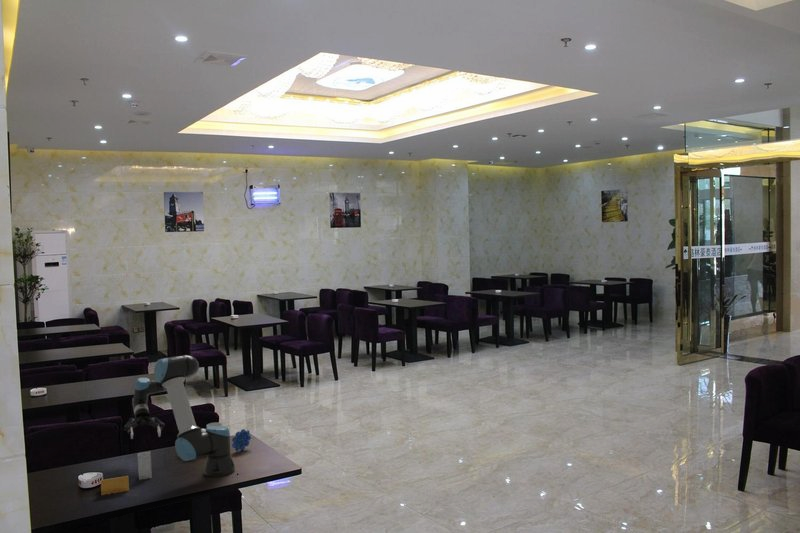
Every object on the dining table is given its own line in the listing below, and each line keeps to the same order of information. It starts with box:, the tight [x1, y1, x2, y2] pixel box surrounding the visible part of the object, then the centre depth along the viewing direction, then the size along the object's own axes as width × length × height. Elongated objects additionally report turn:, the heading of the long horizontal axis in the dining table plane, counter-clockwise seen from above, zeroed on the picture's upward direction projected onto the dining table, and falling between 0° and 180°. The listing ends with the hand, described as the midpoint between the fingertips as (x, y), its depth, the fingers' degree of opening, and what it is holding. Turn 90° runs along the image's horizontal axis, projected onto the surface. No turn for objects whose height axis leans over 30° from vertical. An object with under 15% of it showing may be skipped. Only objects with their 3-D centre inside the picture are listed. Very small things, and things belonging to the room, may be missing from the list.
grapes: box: [231, 428, 252, 452], centre depth 360 cm, size 12×7×12 cm, turn 129°
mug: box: [206, 422, 223, 428], centre depth 376 cm, size 12×9×11 cm
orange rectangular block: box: [100, 475, 130, 496], centre depth 305 cm, size 9×12×7 cm
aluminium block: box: [137, 450, 153, 481], centre depth 322 cm, size 6×6×12 cm
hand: (146, 435), depth 332 cm, fingers open, 13 cm apart
